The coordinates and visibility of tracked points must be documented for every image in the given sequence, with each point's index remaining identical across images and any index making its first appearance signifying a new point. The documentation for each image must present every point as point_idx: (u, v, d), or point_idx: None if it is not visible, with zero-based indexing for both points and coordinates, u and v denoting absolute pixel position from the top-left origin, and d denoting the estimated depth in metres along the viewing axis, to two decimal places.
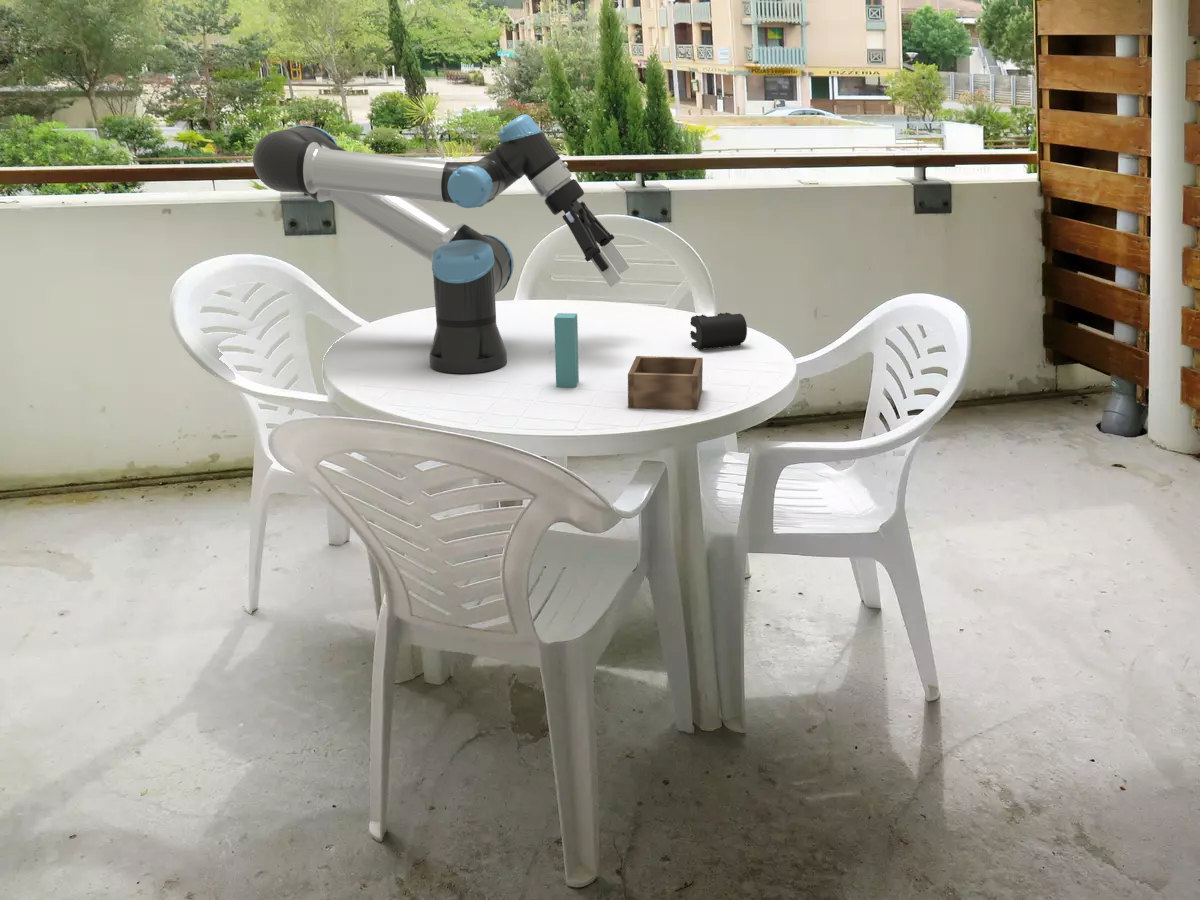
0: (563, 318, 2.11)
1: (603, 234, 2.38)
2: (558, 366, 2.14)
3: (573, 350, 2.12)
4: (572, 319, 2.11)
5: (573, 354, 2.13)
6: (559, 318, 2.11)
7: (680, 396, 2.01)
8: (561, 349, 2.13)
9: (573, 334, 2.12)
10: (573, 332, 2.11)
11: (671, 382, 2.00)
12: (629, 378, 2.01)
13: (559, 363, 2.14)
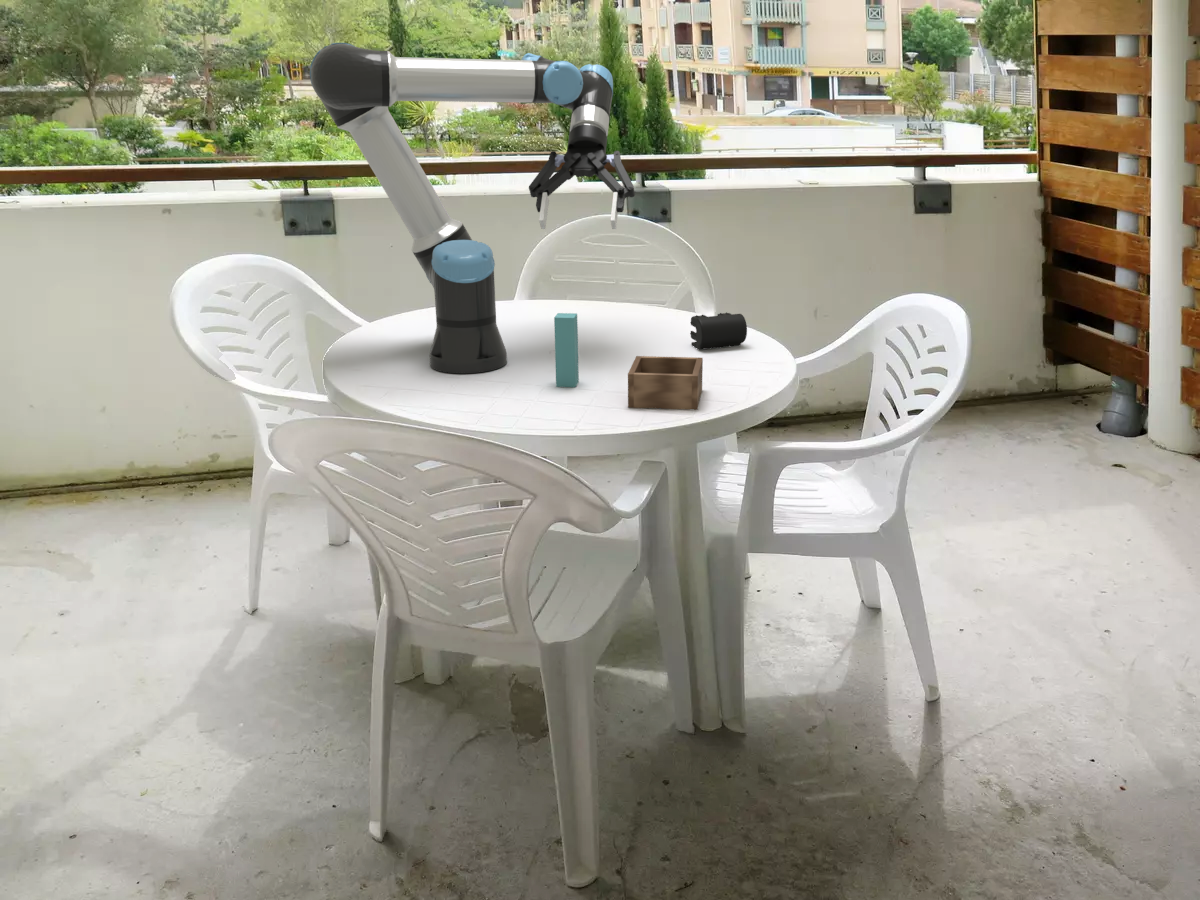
0: (563, 318, 2.11)
1: (553, 190, 2.25)
2: (558, 366, 2.14)
3: (573, 350, 2.12)
4: (572, 319, 2.11)
5: (573, 354, 2.13)
6: (559, 318, 2.11)
7: (680, 396, 2.01)
8: (560, 349, 2.13)
9: (573, 334, 2.12)
10: (573, 332, 2.11)
11: (671, 382, 2.00)
12: (629, 378, 2.01)
13: (559, 363, 2.14)
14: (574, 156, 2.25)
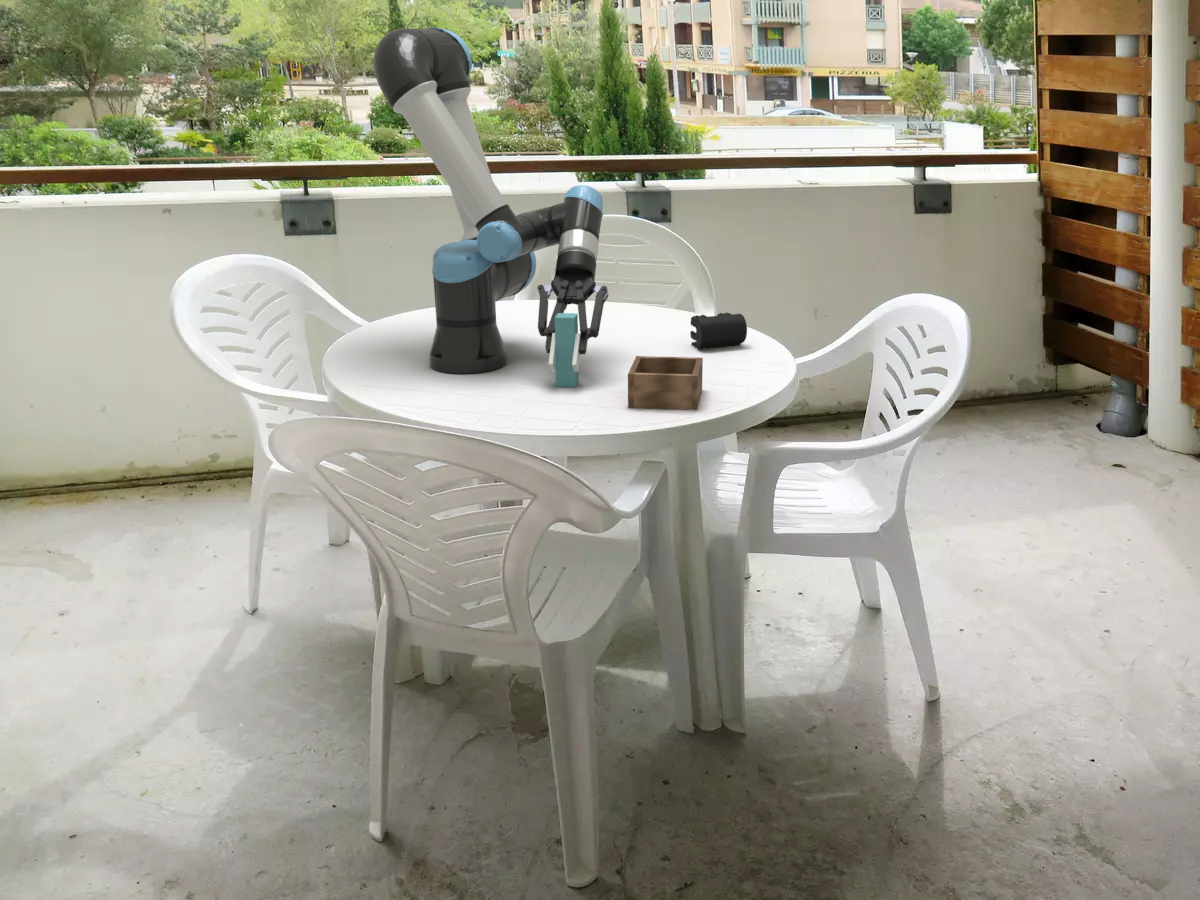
0: (563, 318, 2.11)
1: None
2: (558, 366, 2.14)
3: (573, 350, 2.12)
4: (572, 319, 2.11)
5: None
6: (559, 318, 2.11)
7: (680, 396, 2.01)
8: (561, 349, 2.13)
9: (573, 334, 2.12)
10: (573, 332, 2.11)
11: (671, 382, 2.00)
12: (629, 378, 2.01)
13: (559, 363, 2.14)
14: (563, 285, 2.17)
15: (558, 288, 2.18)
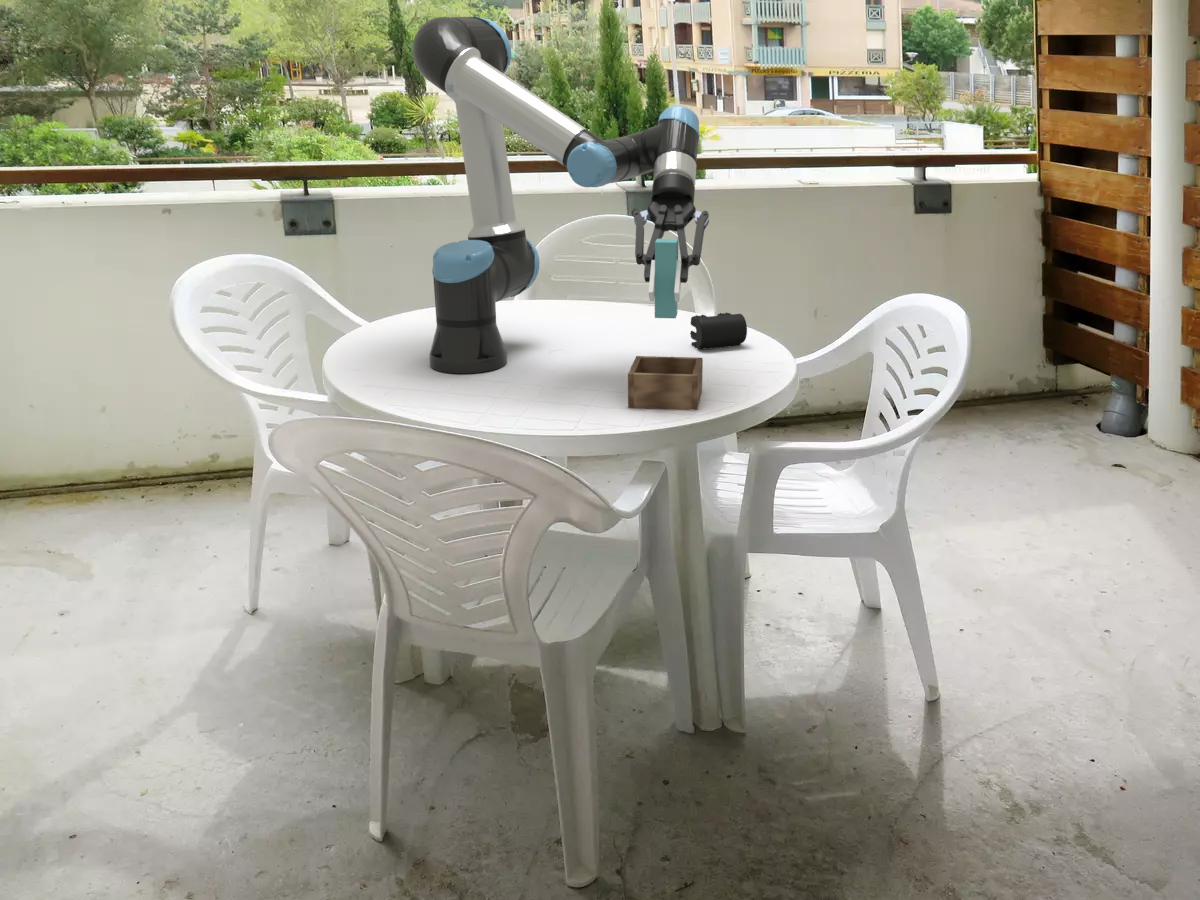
0: (664, 243, 1.97)
1: None
2: (658, 295, 2.00)
3: (674, 278, 1.98)
4: (674, 244, 1.96)
5: (674, 282, 1.98)
6: (660, 243, 1.97)
7: (680, 396, 2.01)
8: (661, 277, 1.98)
9: (675, 260, 1.97)
10: (675, 258, 1.97)
11: (671, 382, 2.00)
12: (629, 378, 2.01)
13: (659, 292, 1.99)
14: (661, 210, 2.03)
15: (655, 213, 2.04)
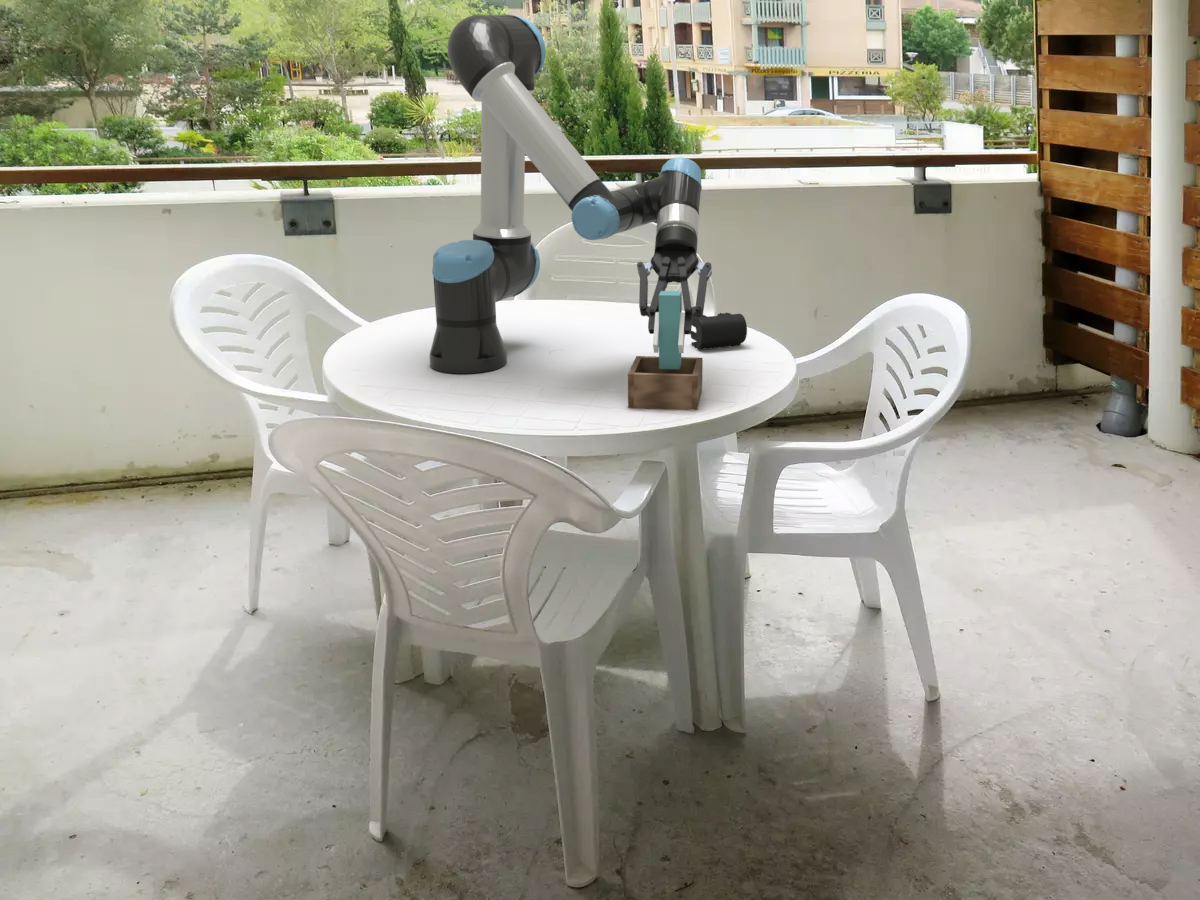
0: (668, 296, 1.99)
1: None
2: (662, 346, 2.02)
3: (678, 330, 2.01)
4: (678, 297, 1.99)
5: (678, 334, 2.01)
6: (664, 296, 1.99)
7: (680, 396, 2.01)
8: (665, 329, 2.01)
9: (678, 313, 2.00)
10: (678, 310, 2.00)
11: (671, 382, 2.00)
12: (629, 378, 2.01)
13: (663, 344, 2.02)
14: (664, 262, 2.06)
15: (659, 265, 2.06)
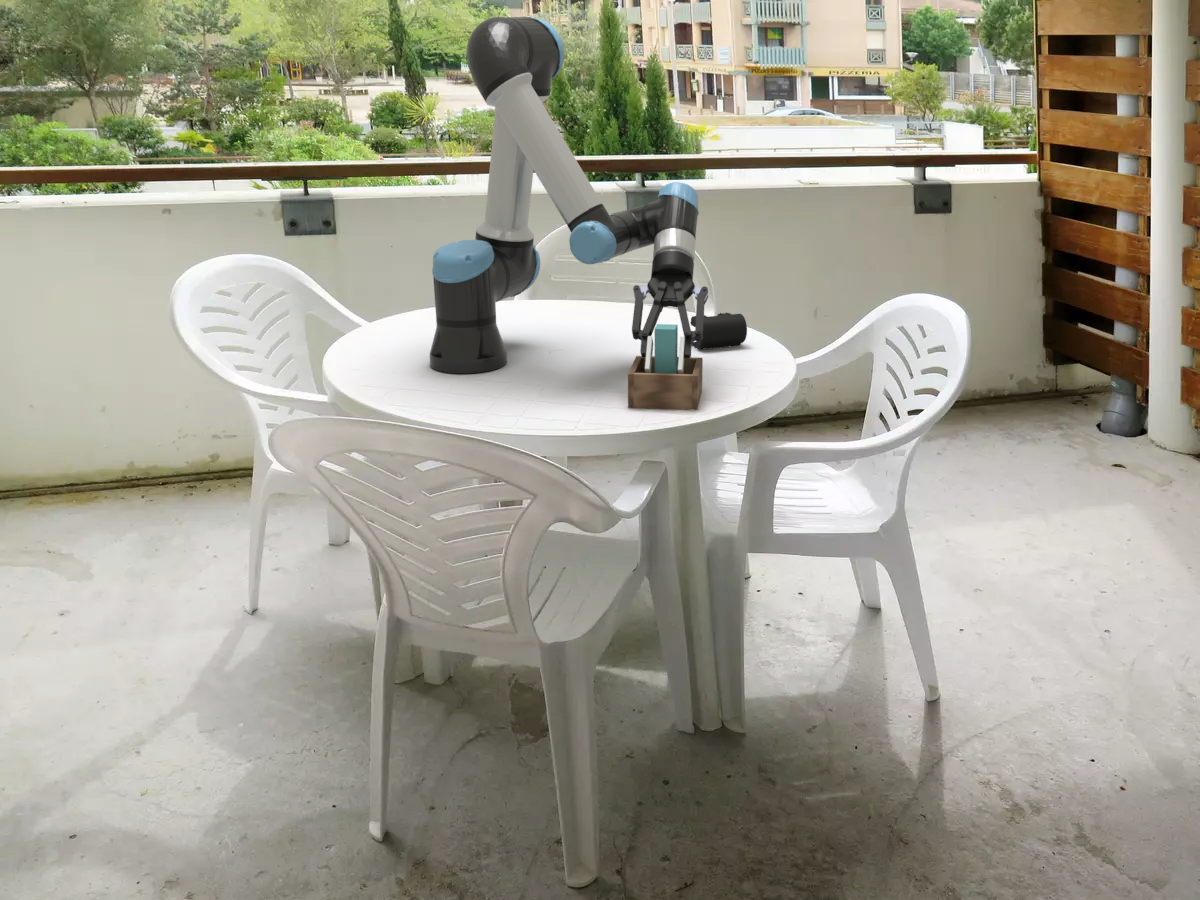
0: (664, 330, 2.02)
1: (653, 329, 2.07)
2: None
3: (674, 363, 2.03)
4: (673, 331, 2.01)
5: (673, 367, 2.03)
6: (660, 330, 2.02)
7: (680, 396, 2.01)
8: (660, 362, 2.04)
9: (674, 346, 2.02)
10: (674, 344, 2.02)
11: (671, 382, 2.00)
12: (629, 378, 2.01)
13: None
14: (661, 286, 2.07)
15: (655, 290, 2.08)
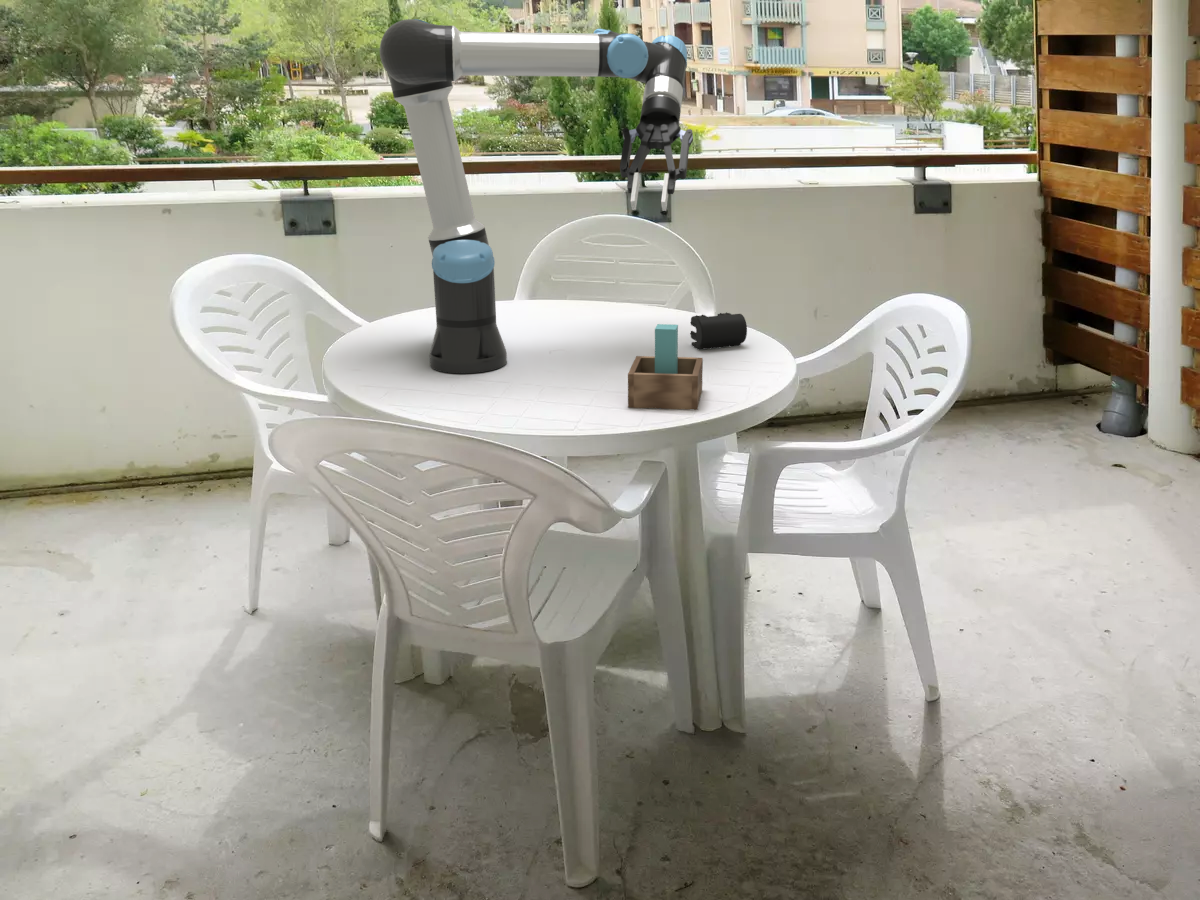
0: (664, 330, 2.02)
1: (640, 168, 2.21)
2: None
3: (674, 363, 2.03)
4: (674, 331, 2.01)
5: (674, 367, 2.03)
6: (660, 329, 2.02)
7: (680, 396, 2.01)
8: (661, 362, 2.04)
9: (674, 346, 2.02)
10: (674, 344, 2.02)
11: (671, 382, 2.00)
12: (629, 378, 2.01)
13: None
14: (648, 128, 2.21)
15: (643, 132, 2.22)
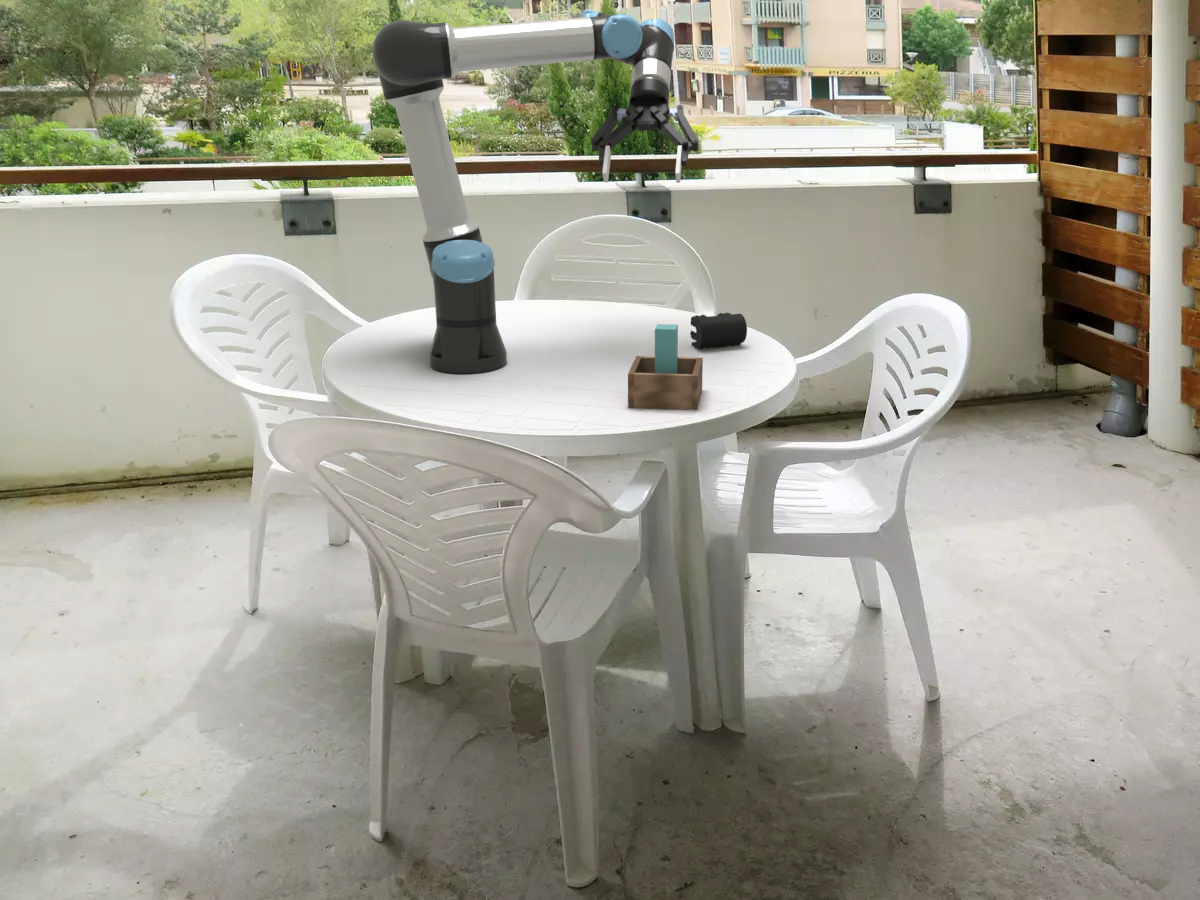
0: (664, 329, 2.02)
1: (615, 144, 2.23)
2: None
3: (674, 363, 2.03)
4: (674, 331, 2.01)
5: (674, 367, 2.03)
6: (660, 329, 2.02)
7: (680, 396, 2.01)
8: (661, 362, 2.04)
9: (674, 346, 2.02)
10: (674, 344, 2.02)
11: (671, 382, 2.00)
12: (629, 378, 2.01)
13: None
14: (637, 109, 2.22)
15: (629, 115, 2.23)
